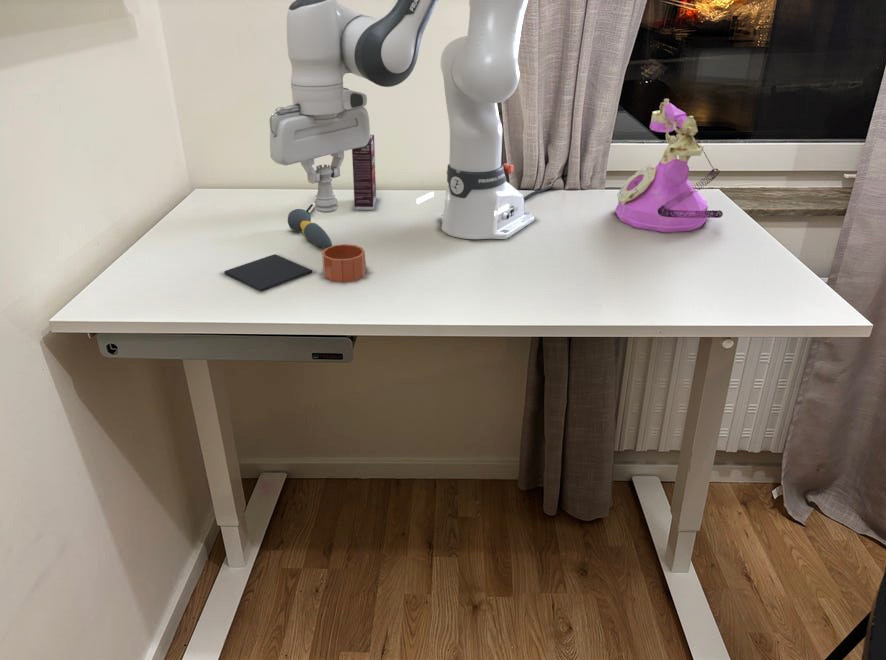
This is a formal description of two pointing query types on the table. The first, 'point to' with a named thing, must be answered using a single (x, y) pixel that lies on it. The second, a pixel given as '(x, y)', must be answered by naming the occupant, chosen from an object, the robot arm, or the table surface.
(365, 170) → the supplement box
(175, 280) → the table surface
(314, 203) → the pen
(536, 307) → the table surface
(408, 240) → the table surface
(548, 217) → the table surface
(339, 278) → the brown hollow cylinder
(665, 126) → the telephone
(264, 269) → the pad
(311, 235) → the paintbrush
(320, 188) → the rook chess piece
